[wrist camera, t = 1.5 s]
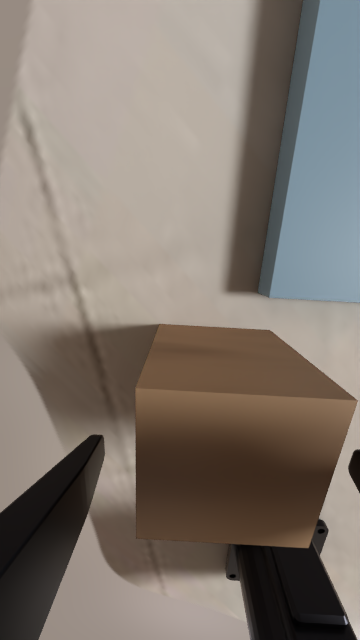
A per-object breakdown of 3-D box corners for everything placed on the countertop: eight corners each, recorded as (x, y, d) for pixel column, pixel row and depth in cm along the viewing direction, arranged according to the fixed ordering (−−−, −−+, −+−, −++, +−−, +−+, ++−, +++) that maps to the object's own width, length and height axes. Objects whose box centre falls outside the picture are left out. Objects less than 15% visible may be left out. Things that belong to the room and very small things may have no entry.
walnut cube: (253, 420, 13) (308, 548, 7) (157, 415, 13) (136, 538, 7) (269, 329, 11) (357, 400, 6) (159, 323, 11) (135, 388, 6)
